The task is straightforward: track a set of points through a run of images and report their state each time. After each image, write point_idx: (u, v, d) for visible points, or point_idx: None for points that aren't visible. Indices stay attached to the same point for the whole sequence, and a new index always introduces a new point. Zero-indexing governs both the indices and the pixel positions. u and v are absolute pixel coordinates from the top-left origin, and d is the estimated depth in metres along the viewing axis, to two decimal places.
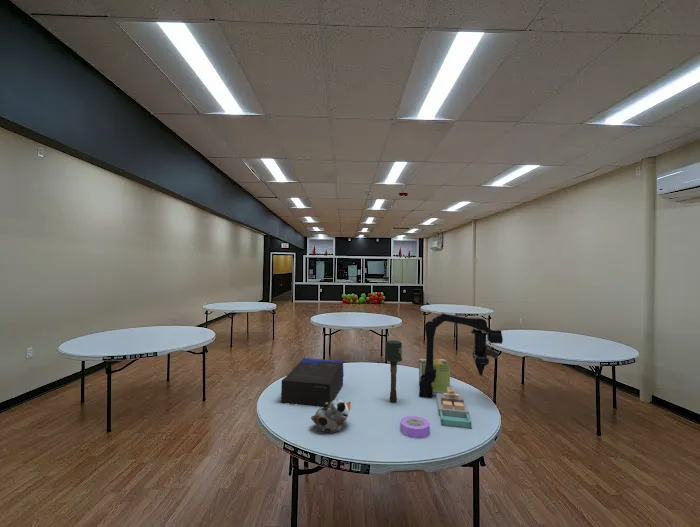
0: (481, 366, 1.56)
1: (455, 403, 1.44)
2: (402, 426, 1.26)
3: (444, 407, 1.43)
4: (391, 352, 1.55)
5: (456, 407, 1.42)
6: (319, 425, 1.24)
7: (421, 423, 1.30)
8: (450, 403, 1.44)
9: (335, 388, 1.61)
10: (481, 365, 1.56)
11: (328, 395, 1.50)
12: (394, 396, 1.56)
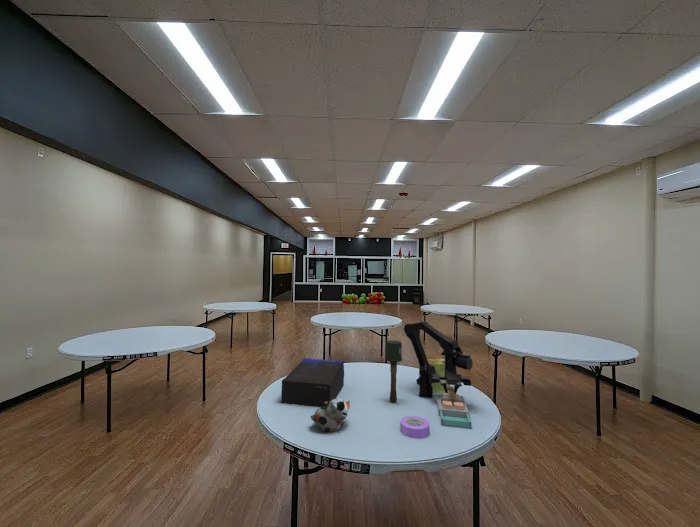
0: None
1: (455, 403, 1.44)
2: (402, 426, 1.26)
3: (444, 407, 1.43)
4: (391, 352, 1.55)
5: (456, 407, 1.42)
6: (319, 424, 1.25)
7: (421, 423, 1.30)
8: (450, 403, 1.44)
9: (335, 388, 1.61)
10: None
11: (328, 395, 1.49)
12: (394, 396, 1.56)
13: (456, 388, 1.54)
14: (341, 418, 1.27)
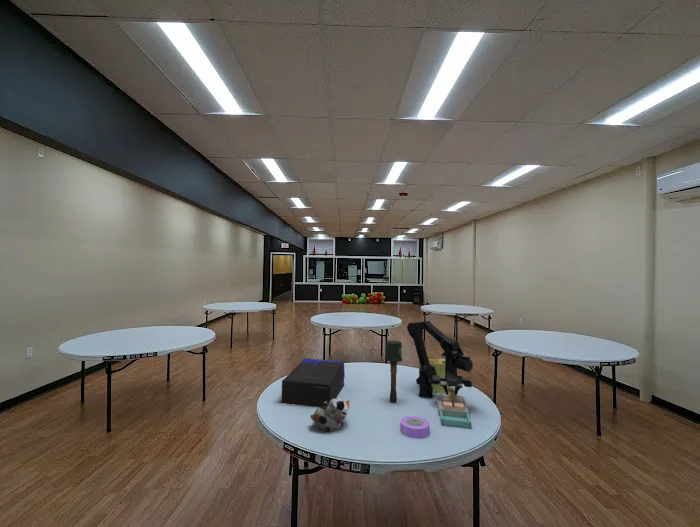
0: None
1: (455, 404, 1.43)
2: (402, 426, 1.26)
3: (444, 408, 1.42)
4: (391, 352, 1.55)
5: (456, 408, 1.41)
6: (319, 423, 1.25)
7: (421, 423, 1.30)
8: (450, 404, 1.43)
9: (336, 389, 1.61)
10: None
11: (328, 396, 1.49)
12: (394, 396, 1.56)
13: (457, 390, 1.52)
14: (341, 418, 1.28)
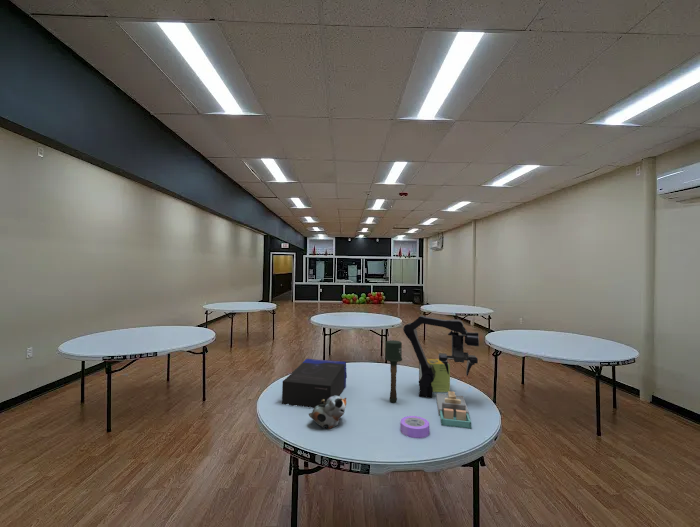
0: None
1: (457, 415, 1.37)
2: (402, 426, 1.26)
3: None
4: (391, 352, 1.55)
5: None
6: (318, 421, 1.27)
7: (421, 423, 1.30)
8: (451, 416, 1.38)
9: (337, 390, 1.59)
10: None
11: (329, 397, 1.48)
12: (394, 396, 1.56)
13: (469, 366, 1.59)
14: (339, 415, 1.30)
